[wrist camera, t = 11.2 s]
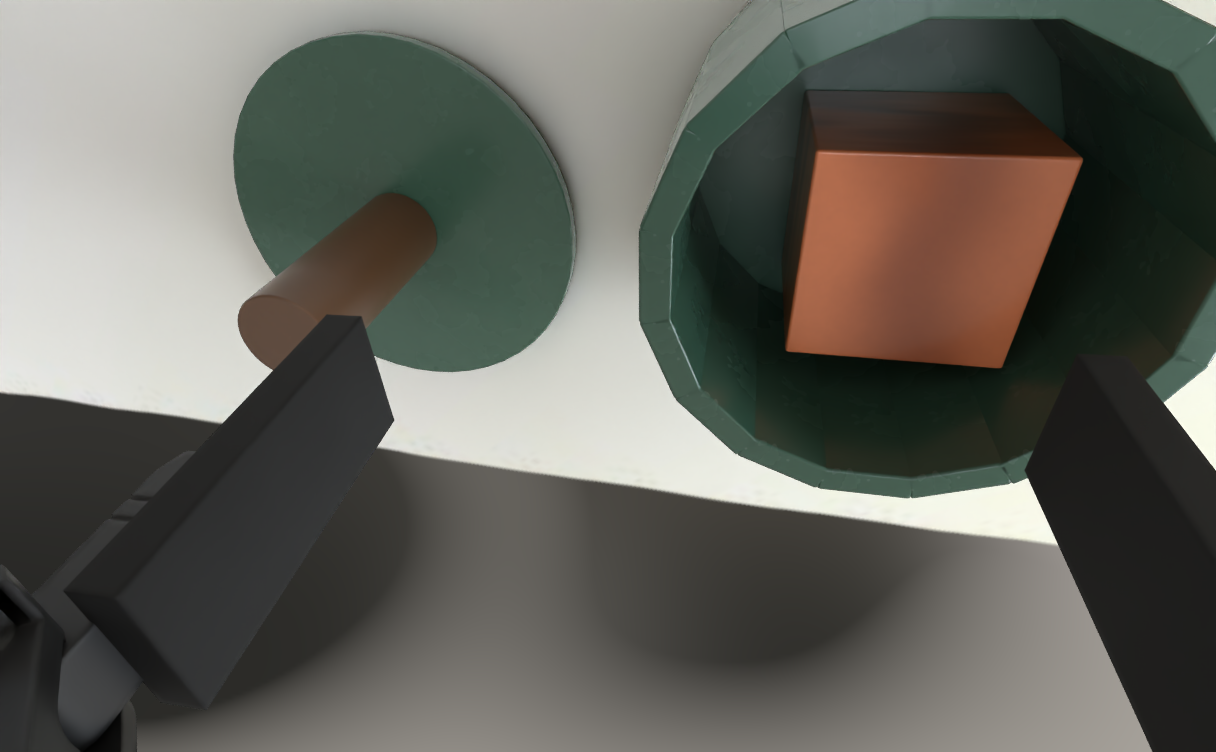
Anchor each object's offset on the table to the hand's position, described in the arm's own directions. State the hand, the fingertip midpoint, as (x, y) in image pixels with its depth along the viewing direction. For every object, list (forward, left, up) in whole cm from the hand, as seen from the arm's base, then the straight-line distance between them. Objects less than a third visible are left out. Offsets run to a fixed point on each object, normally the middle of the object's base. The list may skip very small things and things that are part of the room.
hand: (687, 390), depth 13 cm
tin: (+5, 0, -13) cm, 14 cm away
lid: (-12, -3, -13) cm, 18 cm away
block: (+5, 0, -13) cm, 14 cm away
